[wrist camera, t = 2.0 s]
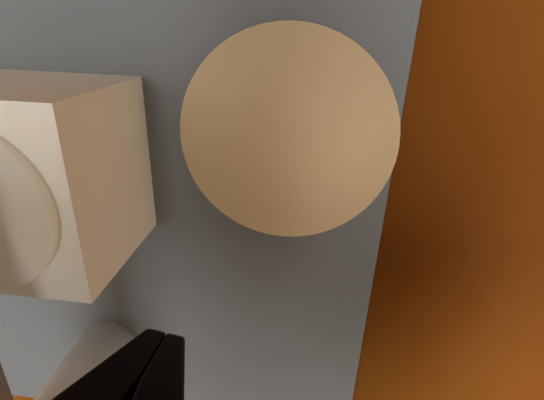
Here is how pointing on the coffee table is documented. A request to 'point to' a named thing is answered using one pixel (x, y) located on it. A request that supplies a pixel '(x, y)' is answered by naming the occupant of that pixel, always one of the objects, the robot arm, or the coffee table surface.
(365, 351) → the coffee table surface
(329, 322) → the board
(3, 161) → the beige cube
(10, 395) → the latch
